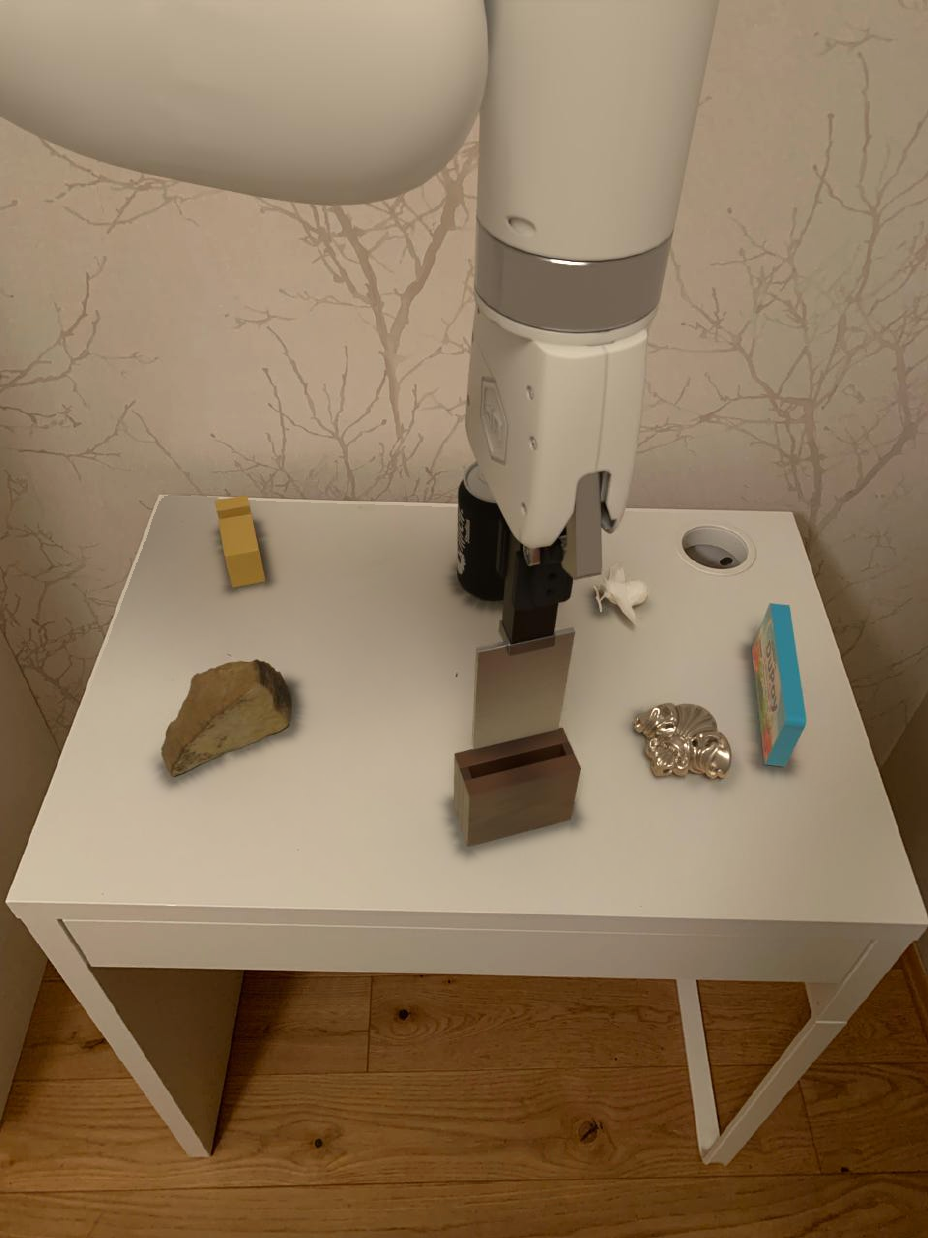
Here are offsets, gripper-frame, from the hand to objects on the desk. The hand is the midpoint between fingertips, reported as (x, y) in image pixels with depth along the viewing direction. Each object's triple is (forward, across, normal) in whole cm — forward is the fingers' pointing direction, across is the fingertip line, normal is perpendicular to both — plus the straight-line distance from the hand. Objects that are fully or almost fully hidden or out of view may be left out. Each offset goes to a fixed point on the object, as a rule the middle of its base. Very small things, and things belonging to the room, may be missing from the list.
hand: (532, 584), depth 50 cm
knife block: (+24, 0, 0) cm, 24 cm away
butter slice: (+25, -36, -15) cm, 46 cm away
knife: (+15, 0, 0) cm, 15 cm away
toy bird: (+25, -17, +16) cm, 34 cm away
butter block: (+25, -31, -15) cm, 42 cm away
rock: (+25, -13, -19) cm, 34 cm away
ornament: (+24, -1, +14) cm, 28 cm away
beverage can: (+25, -23, +6) cm, 34 cm away
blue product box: (+24, -3, +24) cm, 34 cm away
